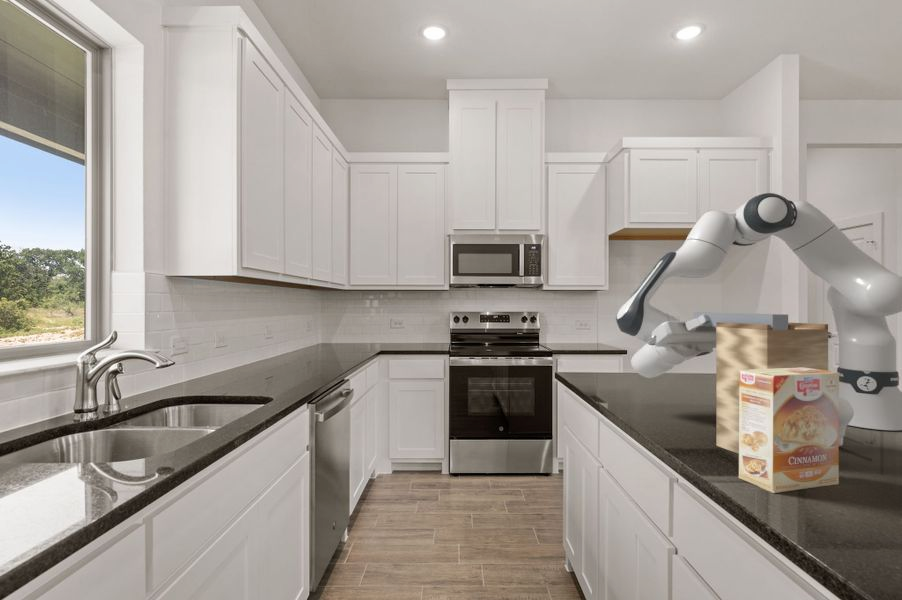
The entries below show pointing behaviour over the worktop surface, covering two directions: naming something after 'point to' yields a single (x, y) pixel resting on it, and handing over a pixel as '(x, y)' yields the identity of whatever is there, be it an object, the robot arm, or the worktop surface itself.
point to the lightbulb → (844, 417)
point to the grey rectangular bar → (748, 319)
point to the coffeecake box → (789, 428)
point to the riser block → (759, 363)
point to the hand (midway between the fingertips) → (716, 317)
